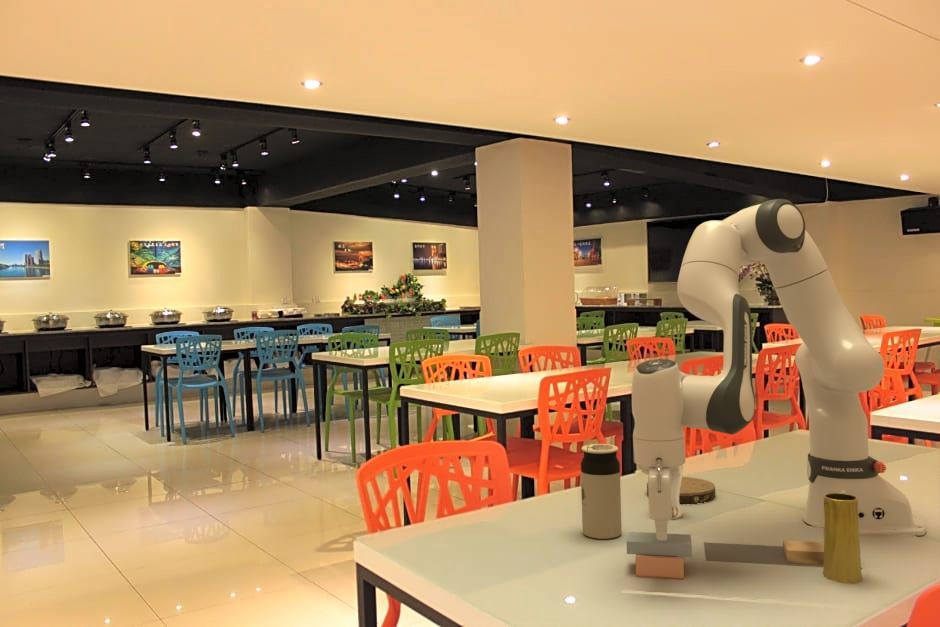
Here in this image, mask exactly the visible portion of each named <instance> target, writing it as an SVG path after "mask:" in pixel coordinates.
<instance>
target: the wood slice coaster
mask: <svg viewBox="0 0 940 627" xmlns="http://www.w3.org/2000/svg"><path fill="white" fill-rule="evenodd" d="M646 495H647V497H648V498H649V493H648V482H646ZM714 498H716V485H715V484H714V483H713V482H712V481H709V480H707V479H703V478H699V477H698V478H697V477H691V476H682V483H681V489H680V499H679V501H680V504H681V505H680V506H683V505H682V504H695V505H698V504H697V503H703V504H705V503H704V502H708V503H710V502H709V501H711V500H713V499H714ZM714 500H715V499H714ZM714 500H713V501H714ZM711 502H712V501H711Z"/></svg>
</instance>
